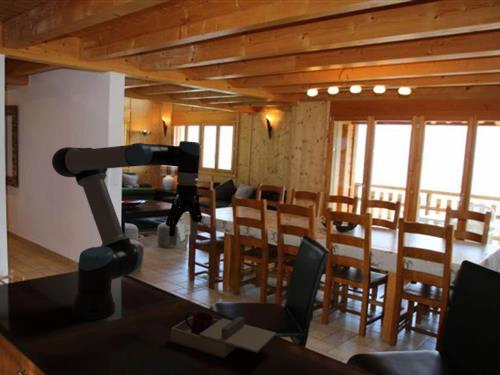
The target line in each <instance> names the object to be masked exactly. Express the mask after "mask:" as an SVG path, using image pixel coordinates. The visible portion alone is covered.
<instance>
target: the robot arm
mask: <svg viewBox="0 0 500 375" xmlns="http://www.w3.org/2000/svg"><path fill="white" fill-rule="evenodd" d="M51 158H52V159H51V165H52V168H53V170H54V171H55V173H57V174H58V175H60V176H61V177H65V178H75V181H76V184H77V185H78V186H79V187H82V189H83V192H84V194H85V197H86V199H87V202H88V206H89V208H90V212H91V215H92V216H93V220H94V223H95V225H96V227H97V231H98V234H99V237H100V241H101V243H102V244H100V246H91V247H88V248H85V249H84V250H83V251H81V252H80V254H79V259H78V264H77V265H78V269H77V270H78V271H77V272H78V275H77V277H78V278H77V293H76V295H75V298H74V301H73V304H72V305H71V315H72V316H73V317H74V318H76V319H80V320H87V321H90V320H91V321H93V320H102V319H105V318H108V317H112V316H113V315H114V313H115V312H116V304H115V302H114V297H113V293H112V282H113V280H115V279H118V278H121V277H124V276H128V275H130V274H131V273H135V271H137V270H138V268H140V265H141V262H142V252H141V250H140V248H139V247H138V245H136V244H134V243H132V242H131V240H130V237H129V236H126V235H124V232H123V229H122V225H121V223H120V220H119V218H118V215H117V212H116V209H115V206H114V204H113V201H112V199H111V195H110V192H109V190H108V187H107V183H106V181H105V179H106V177H107V171H108V169H116V168H117V169H118V168H130V167H131V168H133V167H144V166H146V167H147V166H148V167H149V166H153V167H154V166H158V167H160V166H163V167H165V166H167V167H177V175H176V183H177V184H176V189H175V191H176V192H175V193H176V195H178V198H175V197H174V198H172V204H171V206H170V209H169V212H168V215H167V218H166V221H165V226H166V227H169V230H168V236H169V238H168V245H170V246H174V247H175V246H177V240H178V228H179V227H177V225H178V223H179V221H180V219H181V217H182V216H183V214H184V213H185V212H186V211H188V214H189V216H190V217H191V220H192V221H190V234H189V235H190V236H189V239H190V240H195V241H197V240H198V233H199V231H198V230H199V223H202V220H203V214H202V210H201V205H200V197H199V196H198V185H197V184H199V172H200V171H199V169H200V168H199V167H200V158H201V144H200V142H197V141H186V140H185V141H184V140H181V141H179V145H170V144H169V145H168V144H160V143H158V144H157V143H155V144H152V143H145V142H135V143H132V144H128V145H117V146H107V147H106V146H105V147H96V148H93V147H70V146H69V147H67V146H66V147H61V148H60V149H58V150H57V151H56V152H55V153H54V154H53V156H52V157H51Z"/></svg>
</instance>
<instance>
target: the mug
mask: <svg viewBox="0 0 500 375" xmlns="http://www.w3.org/2000/svg"><path fill="white" fill-rule="evenodd" d="M189 315H191V316H193V322H192V326H191V325H190V324H189V323H188V318H189ZM213 318H214V316H213V315H212V314H210V313H208V312H203V311H200V312H196V313H193V312H187V314H186V315H185V317H184V319H185V320H184V321H186V324H187V326H188V327H189V328H190V329H191V333H192V334H196V335H199V334H200V333H201V332H203V331H204V330H206V329H207V328H209V327H210V326H212V324H213Z"/></svg>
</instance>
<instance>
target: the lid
mask: <svg viewBox="0 0 500 375" xmlns="http://www.w3.org/2000/svg"><path fill="white" fill-rule="evenodd" d="M218 320H219V321H218V322H216V323H215V324H213V325H212V326H210V327H209V328H207V329H206V330H204V331H203V332H201V333H200V334H199V336H202V337H206V338H209V339H212V340H216V341H219V342H222V343H226V344H229V345H232V346H236V347H237V348H240V349H243V350H246V351H250V352H253V353H259V352H260V350H261V349H263V347H265V346H266V345H267V344H268V343H269V342H270V341H271V340H272V339H273V338H274V337H275V336H276V335H277V333H276V332H274V331H270V330H266V329H263V328H259V327H256V326H252V325H249V324H245V317H244V316H237V317H236V318H234V320H231V319H227V318H221V319H218Z"/></svg>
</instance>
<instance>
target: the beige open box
mask: <svg viewBox="0 0 500 375" xmlns="http://www.w3.org/2000/svg"><path fill="white" fill-rule="evenodd" d="M219 320H220V319H216V318H214V317H213V324H215V323H216V322H218V321H219ZM192 322H193V316H192V315H191V316H190V317H188V323H189V324H190V325H191V326H192ZM213 324H212V325H213ZM169 342H172V343H174V344H177V345H180V346H183V347H187V348H190V349H192V350H193V349H194V350H197V351H200V352H202V353H206V354H209V355H212V356H216V357H219V358H220V359H225V358H226V357H227V356H228V355H229V354H231V353H232V352H233V351H234V350H236V349H237V348H238V347H236V346H232V345H229V344H226V343H222V342H219V341H216V340H212V339H209V338H206V337H202V336H199V335H196V334H192V333H191V329H190V328H189V327H188V326H187V324H186V321H185V320H183V321H182V322H179V323H178V324H176V325H173V326H172V327H171V328H170V340H169Z"/></svg>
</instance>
